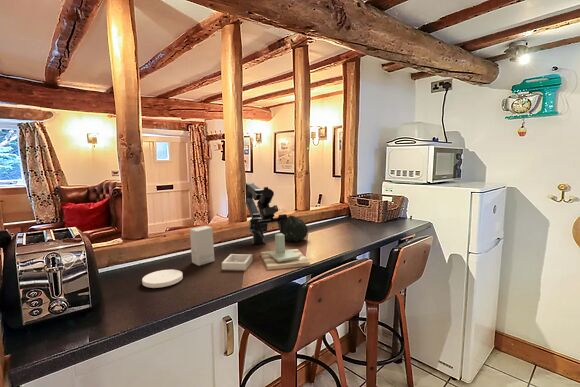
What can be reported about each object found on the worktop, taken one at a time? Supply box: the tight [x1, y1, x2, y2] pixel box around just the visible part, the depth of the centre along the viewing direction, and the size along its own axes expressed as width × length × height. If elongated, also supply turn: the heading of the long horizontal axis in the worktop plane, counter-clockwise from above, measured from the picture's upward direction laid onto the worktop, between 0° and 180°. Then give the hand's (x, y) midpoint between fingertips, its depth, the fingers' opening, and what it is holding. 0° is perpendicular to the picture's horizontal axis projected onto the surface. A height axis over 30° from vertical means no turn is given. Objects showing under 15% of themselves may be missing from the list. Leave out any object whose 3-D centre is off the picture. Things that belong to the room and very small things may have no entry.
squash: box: [283, 214, 309, 243], centre depth 172 cm, size 14×15×15 cm
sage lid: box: [267, 232, 300, 262], centre depth 137 cm, size 12×10×10 cm
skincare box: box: [189, 225, 216, 266], centre depth 137 cm, size 8×7×16 cm
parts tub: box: [221, 253, 254, 271], centre depth 133 cm, size 12×10×3 cm
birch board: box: [260, 248, 311, 271], centre depth 138 cm, size 20×18×2 cm
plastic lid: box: [141, 268, 184, 289], centre depth 117 cm, size 14×14×2 cm
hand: (272, 236), depth 147 cm, fingers open, 9 cm apart
